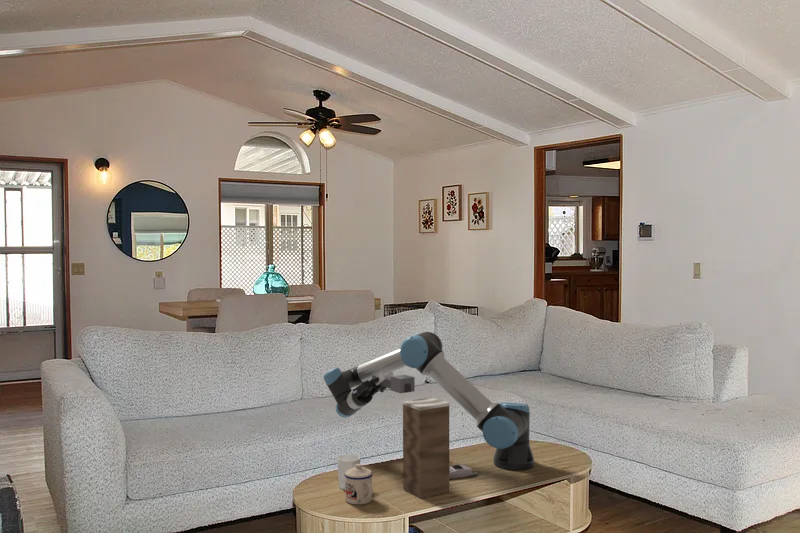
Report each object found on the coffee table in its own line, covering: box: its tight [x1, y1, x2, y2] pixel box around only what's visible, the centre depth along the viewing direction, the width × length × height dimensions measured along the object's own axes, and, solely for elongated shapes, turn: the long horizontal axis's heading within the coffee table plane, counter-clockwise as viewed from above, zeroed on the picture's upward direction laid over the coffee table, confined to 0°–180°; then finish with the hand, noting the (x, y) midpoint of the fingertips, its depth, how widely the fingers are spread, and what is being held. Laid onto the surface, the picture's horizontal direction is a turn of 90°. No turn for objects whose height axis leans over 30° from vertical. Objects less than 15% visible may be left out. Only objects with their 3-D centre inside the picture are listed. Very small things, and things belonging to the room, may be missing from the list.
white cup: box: [336, 454, 361, 491], centre depth 238 cm, size 8×8×10 cm
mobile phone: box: [449, 464, 478, 480], centre depth 247 cm, size 6×6×25 cm
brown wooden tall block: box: [402, 397, 450, 500], centre depth 233 cm, size 10×12×30 cm
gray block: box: [372, 374, 416, 394], centre depth 250 cm, size 21×6×5 cm, turn 34°
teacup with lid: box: [344, 463, 374, 506], centre depth 224 cm, size 12×9×12 cm
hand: (388, 374), depth 252 cm, fingers closed on gray block, 3 cm apart
